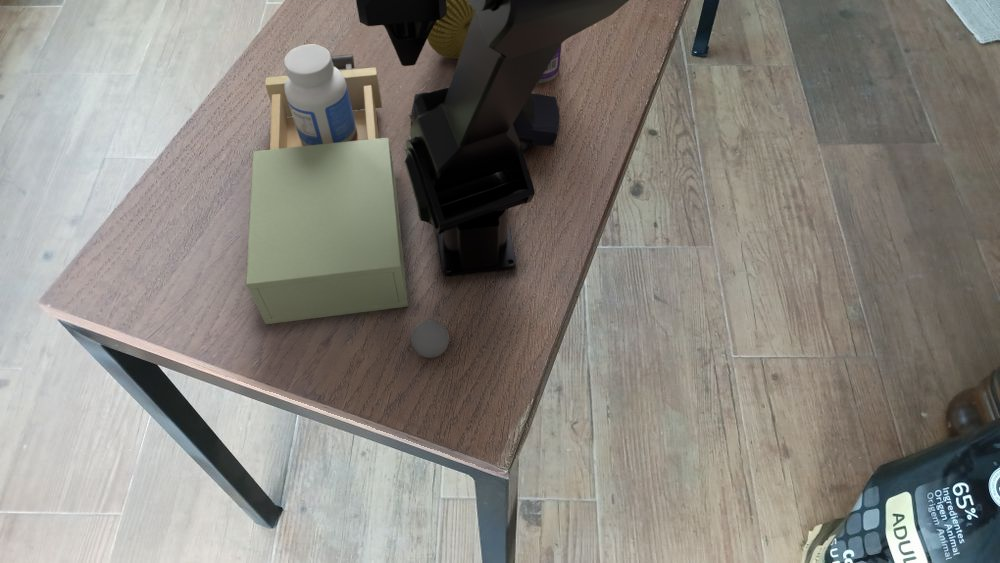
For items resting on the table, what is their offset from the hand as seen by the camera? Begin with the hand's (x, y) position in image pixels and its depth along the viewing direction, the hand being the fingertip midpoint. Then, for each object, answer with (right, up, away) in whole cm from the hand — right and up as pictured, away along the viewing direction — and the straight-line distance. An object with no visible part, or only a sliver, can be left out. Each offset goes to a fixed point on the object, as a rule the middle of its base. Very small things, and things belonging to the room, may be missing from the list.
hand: (404, 29), depth 62 cm
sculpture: (+4, +4, +19) cm, 19 cm away
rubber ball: (+3, -26, -4) cm, 27 cm away
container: (+12, +2, +17) cm, 21 cm away
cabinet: (-7, -19, +3) cm, 20 cm away
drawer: (-9, -7, +10) cm, 15 cm away
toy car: (+7, -7, +11) cm, 15 cm away
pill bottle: (-8, -8, +8) cm, 14 cm away
